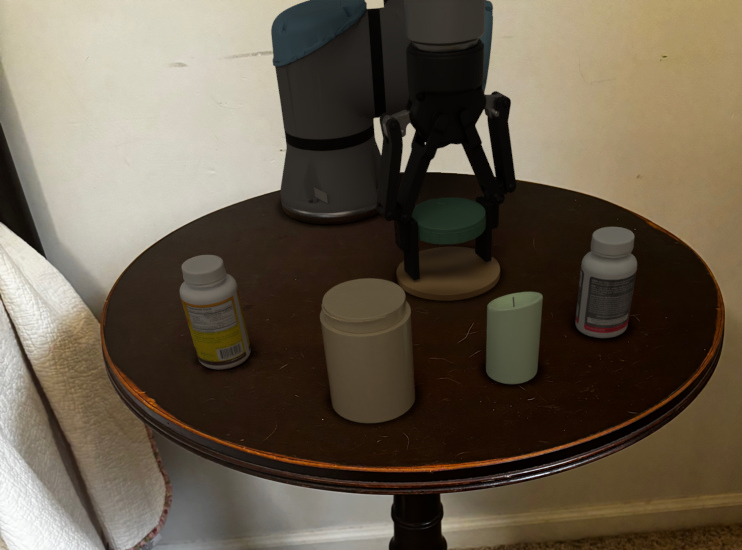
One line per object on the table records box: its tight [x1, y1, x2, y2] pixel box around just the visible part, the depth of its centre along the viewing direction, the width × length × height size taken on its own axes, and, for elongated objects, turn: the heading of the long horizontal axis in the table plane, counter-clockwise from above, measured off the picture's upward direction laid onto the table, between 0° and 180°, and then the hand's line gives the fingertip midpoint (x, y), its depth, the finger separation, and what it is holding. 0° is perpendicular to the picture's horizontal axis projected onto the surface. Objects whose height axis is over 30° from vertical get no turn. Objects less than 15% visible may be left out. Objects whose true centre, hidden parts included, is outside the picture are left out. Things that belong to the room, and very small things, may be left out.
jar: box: [319, 277, 416, 424], centre depth 72 cm, size 8×8×10 cm
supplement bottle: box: [179, 254, 252, 370], centre depth 79 cm, size 6×6×10 cm
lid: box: [411, 196, 486, 245], centre depth 88 cm, size 8×8×2 cm
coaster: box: [396, 246, 501, 302], centre depth 93 cm, size 12×12×1 cm
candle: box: [485, 291, 544, 385], centre depth 75 cm, size 5×5×8 cm
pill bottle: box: [574, 226, 638, 339], centre depth 80 cm, size 5×5×10 cm
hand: (448, 265), depth 92 cm, fingers closed on lid, 8 cm apart
